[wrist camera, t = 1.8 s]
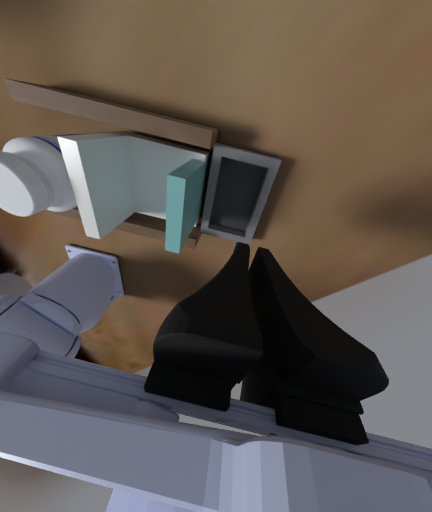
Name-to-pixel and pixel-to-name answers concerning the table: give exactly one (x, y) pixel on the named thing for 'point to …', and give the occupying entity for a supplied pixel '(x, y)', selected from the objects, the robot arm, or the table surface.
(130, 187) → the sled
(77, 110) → the channel
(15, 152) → the pill bottle
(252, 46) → the table surface
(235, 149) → the tray
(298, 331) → the robot arm
